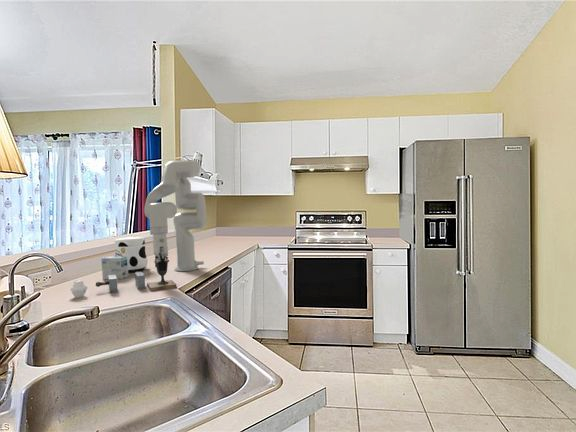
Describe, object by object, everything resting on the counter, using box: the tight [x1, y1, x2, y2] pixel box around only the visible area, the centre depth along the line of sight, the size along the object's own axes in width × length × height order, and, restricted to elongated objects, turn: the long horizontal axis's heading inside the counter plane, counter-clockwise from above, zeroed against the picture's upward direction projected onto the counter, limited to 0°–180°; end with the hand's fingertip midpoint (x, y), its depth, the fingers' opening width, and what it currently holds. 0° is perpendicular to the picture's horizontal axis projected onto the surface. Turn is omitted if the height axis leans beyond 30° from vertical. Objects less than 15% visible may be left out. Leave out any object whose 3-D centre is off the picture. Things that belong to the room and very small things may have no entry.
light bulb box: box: [101, 255, 129, 280], centre depth 196 cm, size 11×7×11 cm, turn 84°
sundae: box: [154, 255, 170, 285], centre depth 172 cm, size 7×7×15 cm
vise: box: [95, 271, 146, 294], centre depth 170 cm, size 20×10×6 cm, turn 117°
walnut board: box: [146, 279, 178, 292], centre depth 172 cm, size 11×11×2 cm
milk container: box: [114, 236, 149, 273], centre depth 214 cm, size 17×17×18 cm
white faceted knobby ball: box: [69, 279, 88, 299], centre depth 159 cm, size 6×6×7 cm
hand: (160, 268), depth 172 cm, fingers open, 9 cm apart
